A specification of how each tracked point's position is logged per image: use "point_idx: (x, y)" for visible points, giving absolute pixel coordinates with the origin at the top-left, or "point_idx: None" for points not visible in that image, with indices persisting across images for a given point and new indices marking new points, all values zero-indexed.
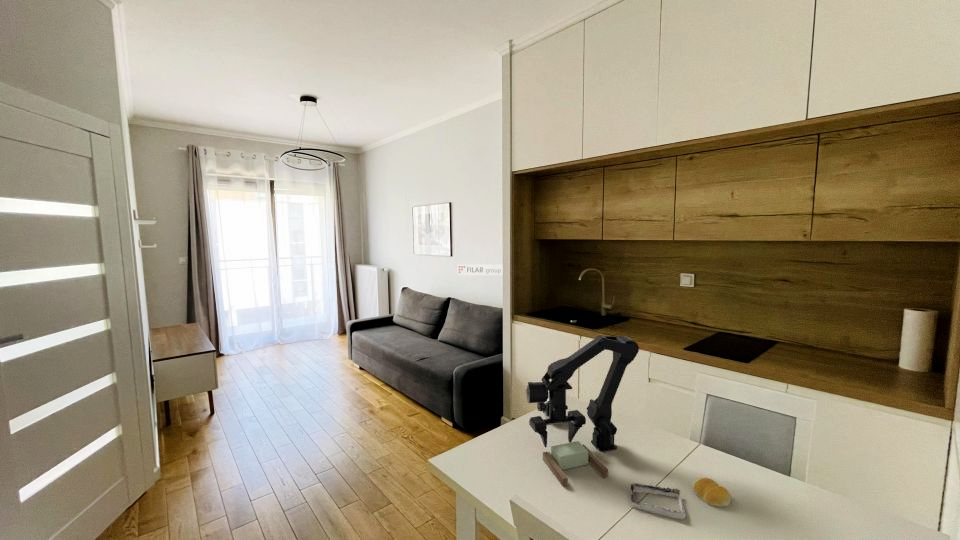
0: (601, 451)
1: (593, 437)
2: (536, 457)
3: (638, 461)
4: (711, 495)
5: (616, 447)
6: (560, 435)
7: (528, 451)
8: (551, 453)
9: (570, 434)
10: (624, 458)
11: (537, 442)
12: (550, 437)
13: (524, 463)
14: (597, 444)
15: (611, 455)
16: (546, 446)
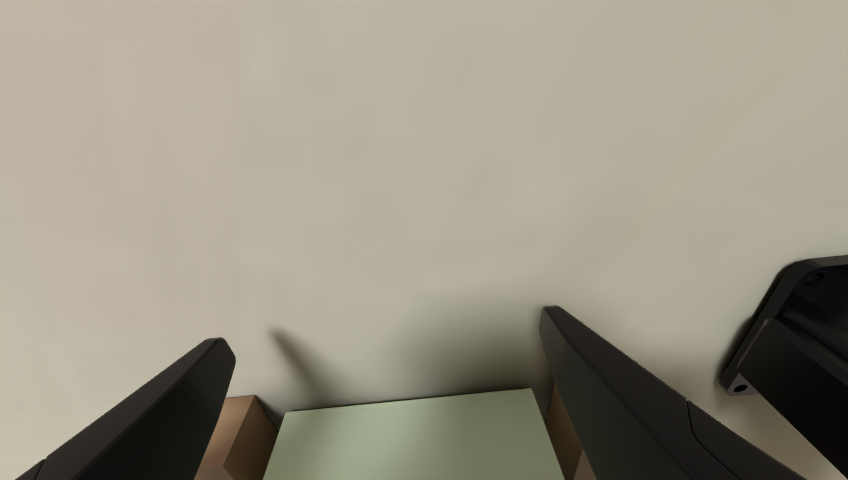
0: (722, 386)
1: (842, 409)
2: (157, 373)
3: (814, 457)
4: None
5: None
6: (566, 6)
7: (50, 295)
8: (267, 474)
9: (600, 444)
10: (778, 436)
11: (140, 141)
12: (371, 35)
13: (59, 414)
14: (768, 397)
15: (740, 411)
16: (232, 372)
